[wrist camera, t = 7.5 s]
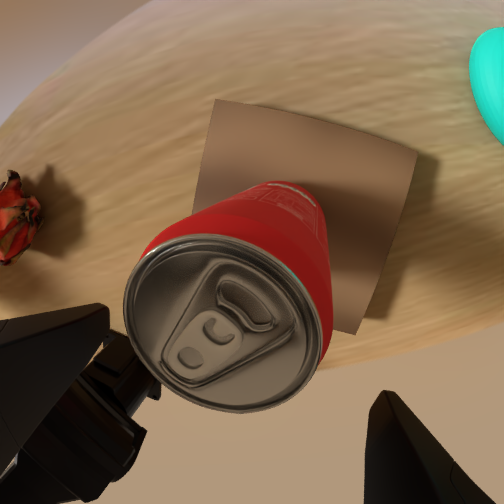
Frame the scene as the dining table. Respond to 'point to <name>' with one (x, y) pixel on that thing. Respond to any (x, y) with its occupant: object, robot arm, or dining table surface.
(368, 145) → the walnut plinth
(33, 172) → the dining table surface
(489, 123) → the donuts
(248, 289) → the beverage can
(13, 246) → the dragon fruit
